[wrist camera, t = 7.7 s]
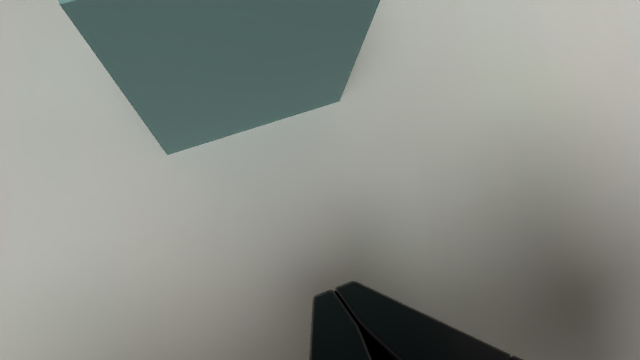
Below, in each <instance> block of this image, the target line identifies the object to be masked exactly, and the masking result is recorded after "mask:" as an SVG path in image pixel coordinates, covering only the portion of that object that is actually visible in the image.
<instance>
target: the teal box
mask: <svg viewBox="0 0 640 360" xmlns="http://www.w3.org/2000/svg"><path fill="white" fill-rule="evenodd" d="M379 2H380V0H59V3H60V5H61V7H62V8H63V10H64V11H65V12H66V14H67V15H68V17H69V18H70V19H71V21H72V22H73V24H74V25H75V26H76V28H77V29H78V31H79V32H80V33H81V35H82V36H83V38H84V39H85V40H86V42H87V43H88V45H89V46H90V47H91V49H92V50H93V52H94V53H95V54H96V56H97V57H98V59H99V60H100V61H101V63H102V64H103V66H104V67H105V68H106V70H107V71H108V73H109V74H110V75H111V77H112V78H113V80H114V81H115V82H116V84H117V85H118V87H119V88H120V89H121V91H122V92H123V94H124V95H125V96H126V98H127V99H128V101H129V102H130V103H131V105H132V106H133V108H134V109H135V110H136V112H137V113H138V115H139V116H140V117H141V119H142V120H143V122H144V123H145V124H146V126H147V127H148V129H149V130H150V131H151V133H152V134H153V136H154V137H155V138H156V140H157V141H158V143H159V144H160V145H161V147H162V148H163V150H164V151H165V152H166V154H167V155H169V154H172V153H175V152H179V151H182V150H185V149H188V148H191V147H195V146H198V145H201V144H204V143H207V142H210V141H214V140H217V139H220V138H223V137H226V136H230V135H233V134H236V133H239V132H242V131H246V130H249V129H252V128H255V127H258V126H261V125H265V124H268V123H271V122H274V121H277V120H281V119H284V118H287V117H290V116H293V115H297V114H300V113H303V112H306V111H309V110H313V109H316V108H319V107H322V106H325V105H328V104H332V103H335V102H338V101H339V100H340V98H341V95H342V93H343V91H344V88H345V86H346V83H347V81H348V78H349V76H350V73H351V71H352V68H353V66H354V63H355V61H356V58H357V56H358V53H359V51H360V49H361V46H362V44H363V41H364V39H365V36H366V34H367V31H368V29H369V26H370V24H371V21H372V19H373V16H374V14H375V12H376V9H377V7H378V4H379Z"/></svg>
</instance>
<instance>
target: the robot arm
mask: <svg viewBox="0 0 640 360" xmlns="http://www.w3.org/2000/svg"><path fill="white" fill-rule="evenodd" d="M309 360H522V359H520V358H518V357H516V356H512V357H510V354H508V353H506V352H504V351H502V350H500V349H498V348H495V347H493V346H491V345H489V344H487V343H485V342H483V341H481V340H479V339H476V338H474V337H472V336H470V335H468V334H466V333H464V332H462V331H459V330H457V329H455V328H453V327H451V326H449V325H447V324H445V323H443V322H440V321H438V320H436V319H434V318H432V317H430V316H428V315H426V314H424V313H421V312H419V311H417V310H415V309H413V308H411V307H409V306H407V305H404V304H402V303H400V302H398V301H396V300H394V299H392V298H390V297H388V296H385V295H383V294H381V293H379V292H377V291H375V290H373V289H371V288H369V287H366V286H364V285H362V284H360V283H358V282H355V281H351V282H348V283H346V284H343V285H341V286H338V287H336V289H335V291H333V290H328V291H326V292H323V293H321V294H318V295H316V296H314V298H313V305H312V322H311V339H310V357H309Z"/></svg>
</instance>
